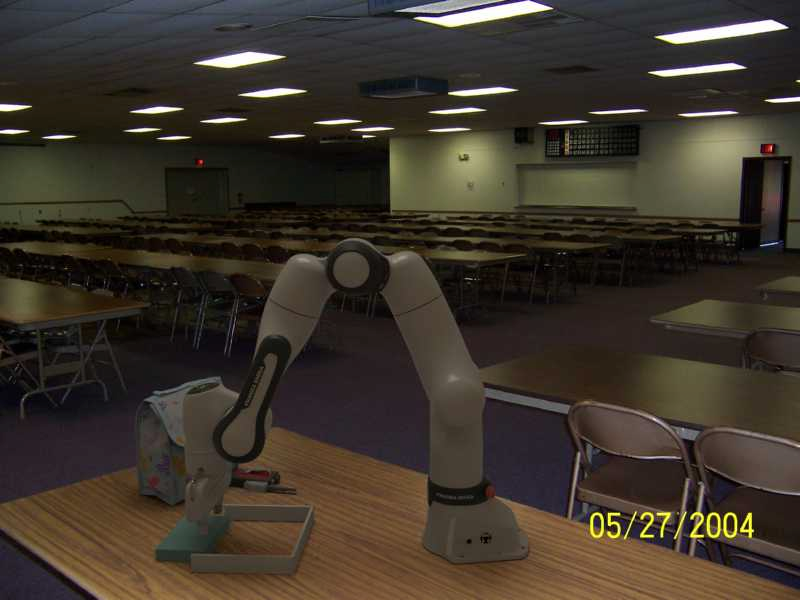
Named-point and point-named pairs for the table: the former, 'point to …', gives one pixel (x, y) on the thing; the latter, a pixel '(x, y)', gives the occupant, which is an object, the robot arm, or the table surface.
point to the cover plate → (191, 539)
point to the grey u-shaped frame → (259, 562)
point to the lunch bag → (164, 443)
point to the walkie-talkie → (257, 479)
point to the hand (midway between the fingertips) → (211, 523)
